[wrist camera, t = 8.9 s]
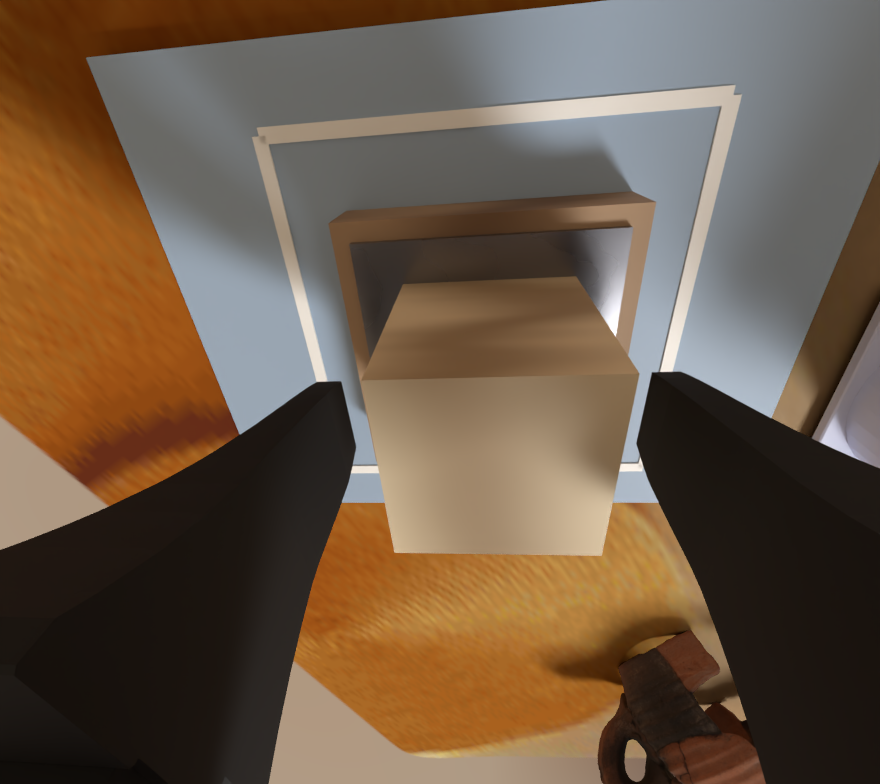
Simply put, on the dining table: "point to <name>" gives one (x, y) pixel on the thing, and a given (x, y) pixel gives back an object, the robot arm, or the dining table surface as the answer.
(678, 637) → the pottery mug
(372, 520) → the dining table surface
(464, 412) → the oak block
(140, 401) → the dining table surface
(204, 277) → the board
